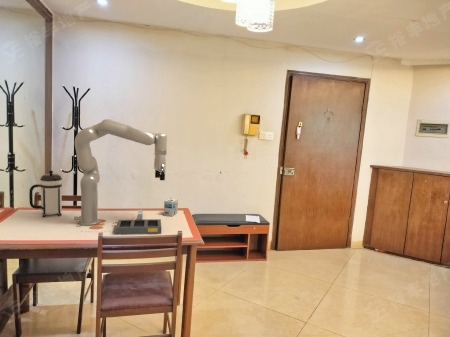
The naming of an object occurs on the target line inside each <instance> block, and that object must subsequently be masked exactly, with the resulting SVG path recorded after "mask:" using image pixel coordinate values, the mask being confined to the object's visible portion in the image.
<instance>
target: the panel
mask: <svg viewBox="0 0 450 337" xmlns="http://www.w3.org/2000/svg"><path fill="white" fill-rule="evenodd" d="M143 215H144V209H137V219H136V220H141V219H144V218H143Z"/></svg>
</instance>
